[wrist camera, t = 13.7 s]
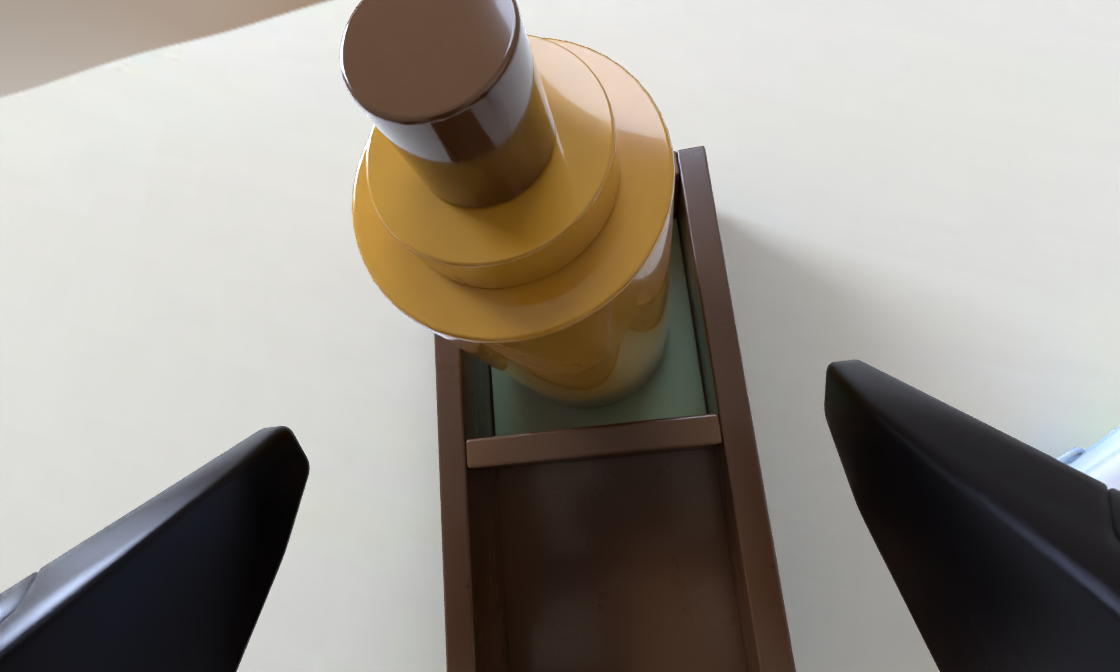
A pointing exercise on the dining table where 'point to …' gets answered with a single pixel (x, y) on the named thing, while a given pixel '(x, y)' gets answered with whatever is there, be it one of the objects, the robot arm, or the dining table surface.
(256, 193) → the dining table surface
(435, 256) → the bottle
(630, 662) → the brown divided tray
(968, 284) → the dining table surface
